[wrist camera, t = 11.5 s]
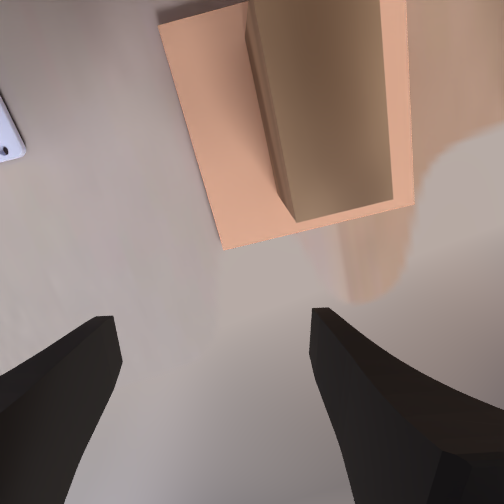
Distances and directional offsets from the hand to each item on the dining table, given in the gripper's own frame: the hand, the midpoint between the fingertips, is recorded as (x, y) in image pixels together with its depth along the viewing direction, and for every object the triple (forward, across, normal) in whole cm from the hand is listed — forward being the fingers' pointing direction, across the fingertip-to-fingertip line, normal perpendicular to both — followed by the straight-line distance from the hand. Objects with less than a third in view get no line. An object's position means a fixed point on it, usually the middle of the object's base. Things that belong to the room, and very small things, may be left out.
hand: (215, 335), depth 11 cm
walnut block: (+9, -4, -8) cm, 12 cm away
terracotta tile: (+9, -4, -7) cm, 13 cm away
